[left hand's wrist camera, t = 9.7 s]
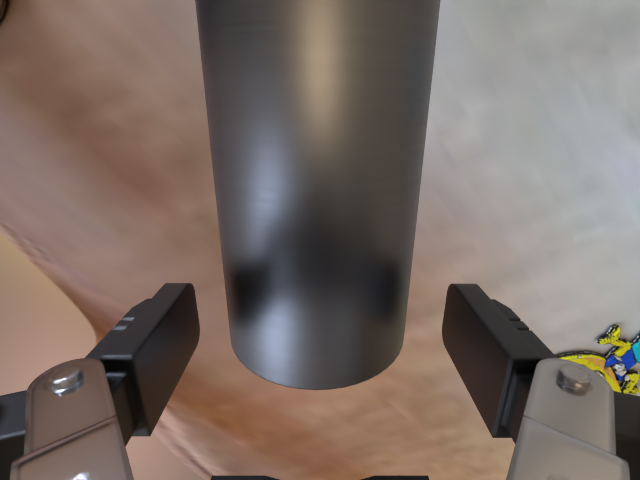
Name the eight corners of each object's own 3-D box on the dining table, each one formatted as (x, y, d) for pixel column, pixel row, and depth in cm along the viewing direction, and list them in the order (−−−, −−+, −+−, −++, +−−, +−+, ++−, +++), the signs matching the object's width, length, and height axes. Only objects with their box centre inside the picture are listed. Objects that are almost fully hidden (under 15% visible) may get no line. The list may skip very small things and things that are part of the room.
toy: (683, 393, 35) (532, 438, 37) (675, 387, 36) (528, 431, 38) (674, 313, 32) (509, 366, 34) (666, 308, 33) (505, 360, 35)
